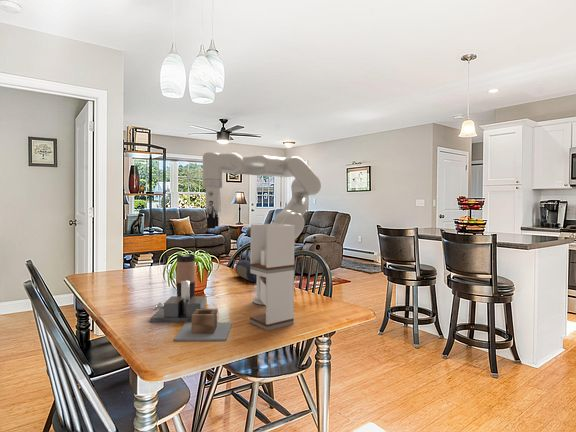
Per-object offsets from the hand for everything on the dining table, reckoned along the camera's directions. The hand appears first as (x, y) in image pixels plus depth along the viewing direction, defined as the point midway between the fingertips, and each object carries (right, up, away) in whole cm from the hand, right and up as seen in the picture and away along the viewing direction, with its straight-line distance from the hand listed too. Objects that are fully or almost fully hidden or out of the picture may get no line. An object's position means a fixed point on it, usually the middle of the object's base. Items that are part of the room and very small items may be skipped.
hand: (213, 227), depth 149 cm
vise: (-8, -33, -10) cm, 35 cm away
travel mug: (-14, -32, +12) cm, 37 cm away
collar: (+2, -33, -25) cm, 42 cm away
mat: (+2, -34, -25) cm, 42 cm away
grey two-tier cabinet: (+24, -34, -16) cm, 44 cm away
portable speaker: (+8, -31, +59) cm, 68 cm away
